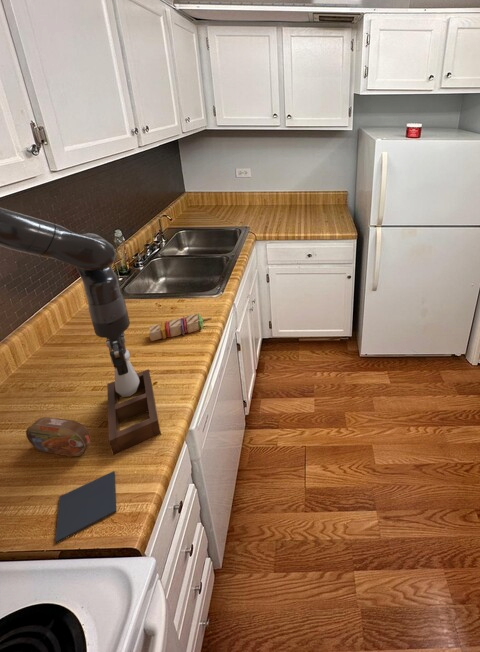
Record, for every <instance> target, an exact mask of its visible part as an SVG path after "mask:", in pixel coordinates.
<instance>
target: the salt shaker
mask: <svg viewBox="0 0 480 652" xmlns="http://www.w3.org/2000/svg"><path fill="white" fill-rule="evenodd" d="M122 350H123V349H122ZM125 358H126V362H127V367H128V373H127V374H124V375H121V376H119V375H118V371H117V368H115V367H114V381H115V390H116V392H117V393H119V394H120V395H121V396H122V397H121V398H127V397H131V396H132V395H134V394H135V393H137V392H138V391H137V388H138V385H139V377H138V375H137V373H138V372H136V370H135V368H134V366H133V365H132V363H131V361H130V358H131V353H130V351H129V350H128V349H127V348H126V353H125ZM110 363H111V364H112V365H114V364H113V361H112V358H111V357H110ZM136 391H137V392H136Z"/></svg>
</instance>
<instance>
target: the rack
mask: <svg viewBox="0 0 480 652" xmlns="http://www.w3.org/2000/svg"><path fill="white" fill-rule="evenodd" d="M136 373H137V375H138V377H139V385H138V388H137V391H136V392H135V393H137V392H140V391H142V390H144V391H145V393H142V394H139V395H137V396H135V397H131V398H129V399H127V400H124V401H122V402H119V399H121V398H123V397H122V396H121V395H120V394H119V393H117V392H116V390H115V380H114V381H111V382H109V383H107V386H106V387H107V391H106V392H107V431H108V443H109V447H110V450H111V453H112V456H116V455H119V454H120V453H123V452H124V451H126V450H129V449H131V448H133V447H136V446H138V445H141V444H142V443H143V444H144V442H147V441H149V440H152V439H154V438H156V437H158V436H161V435H162V432H161V426H160V421H159V414H158V410H157V404H156V399H155V393H154V387H153V381H152V378H151V374H150V370H149V369H145V370H143V371H140V372H136ZM145 413H148V416H149V418H147V419H145V420H142V421H139V422H137V423H135V424H132V425H130V426H127V427H125V428H123V429H121V427H120V424H121V423H123V422H126V421H128V420H131V419H133V418H136V417H138V416H141V415H143V414H145Z"/></svg>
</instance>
